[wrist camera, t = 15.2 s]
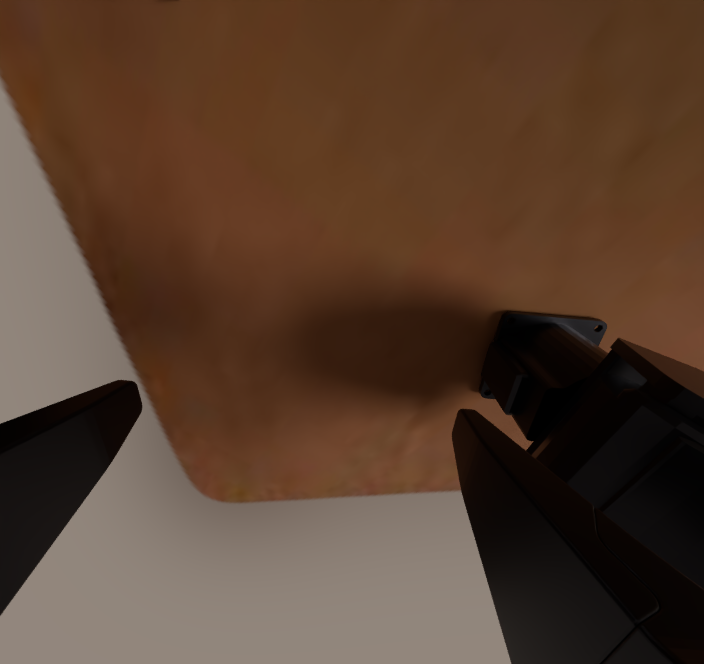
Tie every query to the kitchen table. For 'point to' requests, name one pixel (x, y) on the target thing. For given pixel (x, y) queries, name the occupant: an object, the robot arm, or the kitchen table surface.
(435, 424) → the kitchen table surface
